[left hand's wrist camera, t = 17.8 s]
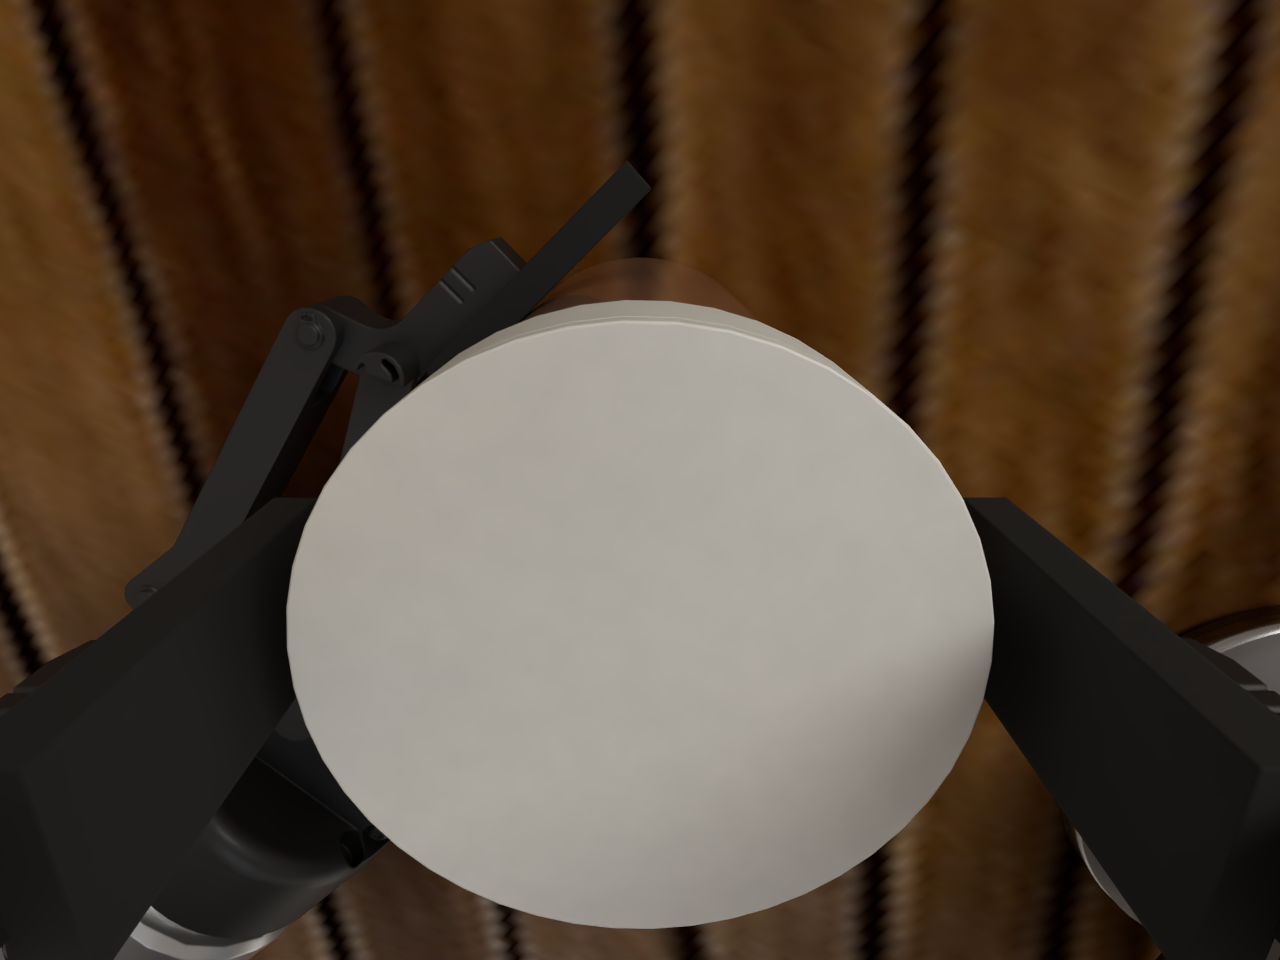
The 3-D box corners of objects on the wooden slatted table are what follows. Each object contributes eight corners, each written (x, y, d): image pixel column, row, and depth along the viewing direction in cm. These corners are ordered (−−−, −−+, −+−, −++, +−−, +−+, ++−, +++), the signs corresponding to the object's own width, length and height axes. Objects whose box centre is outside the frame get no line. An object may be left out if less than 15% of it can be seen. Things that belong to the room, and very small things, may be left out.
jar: (451, 376, 25) (205, 601, 11) (662, 196, 23) (696, 183, 9) (621, 563, 27) (602, 946, 13) (824, 414, 25) (1056, 679, 11)
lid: (832, 869, 14) (862, 971, 12) (320, 781, 13) (268, 875, 11) (1035, 380, 11) (1118, 417, 9) (370, 228, 10) (308, 234, 8)
